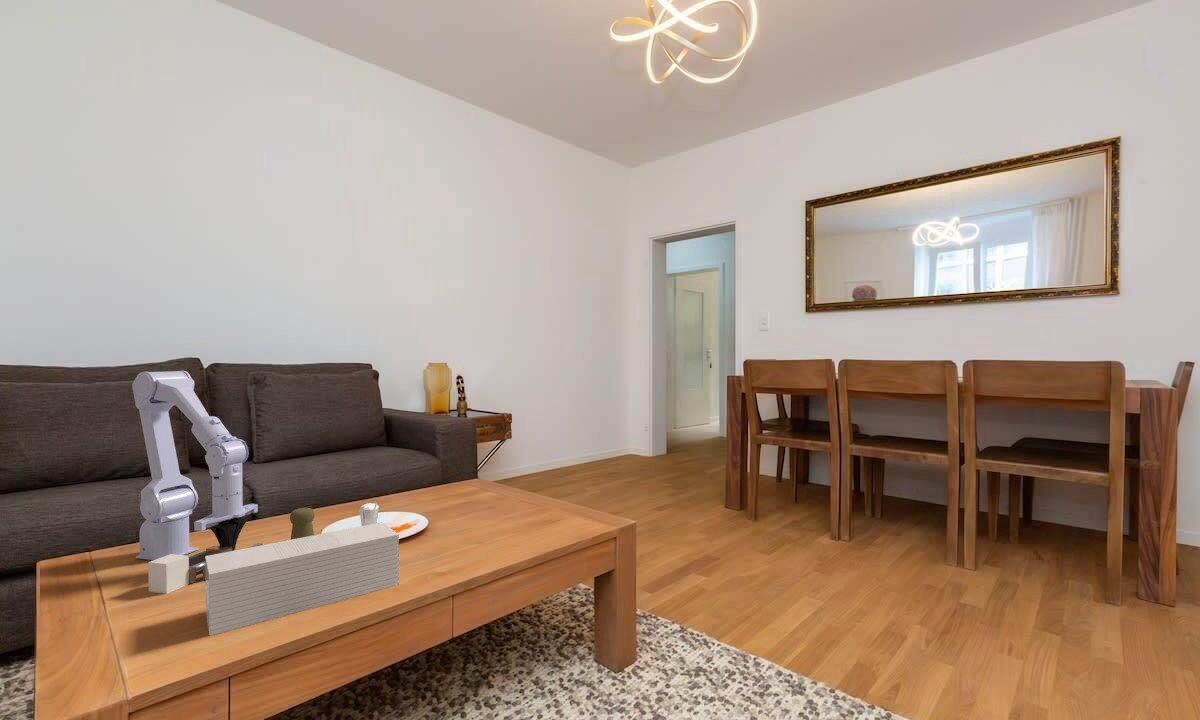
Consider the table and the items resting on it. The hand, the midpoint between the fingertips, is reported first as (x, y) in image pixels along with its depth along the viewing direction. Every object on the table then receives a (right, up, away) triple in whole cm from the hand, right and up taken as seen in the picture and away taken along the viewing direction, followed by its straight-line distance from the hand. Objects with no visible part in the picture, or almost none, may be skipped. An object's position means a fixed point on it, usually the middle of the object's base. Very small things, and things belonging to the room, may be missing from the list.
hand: (228, 552), depth 124 cm
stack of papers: (+28, -3, -18) cm, 34 cm away
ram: (-1, -2, -6) cm, 7 cm away
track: (0, -2, -2) cm, 3 cm away
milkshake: (+26, -2, +16) cm, 31 cm away
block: (-3, -3, -13) cm, 14 cm away
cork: (+15, -3, +5) cm, 16 cm away
